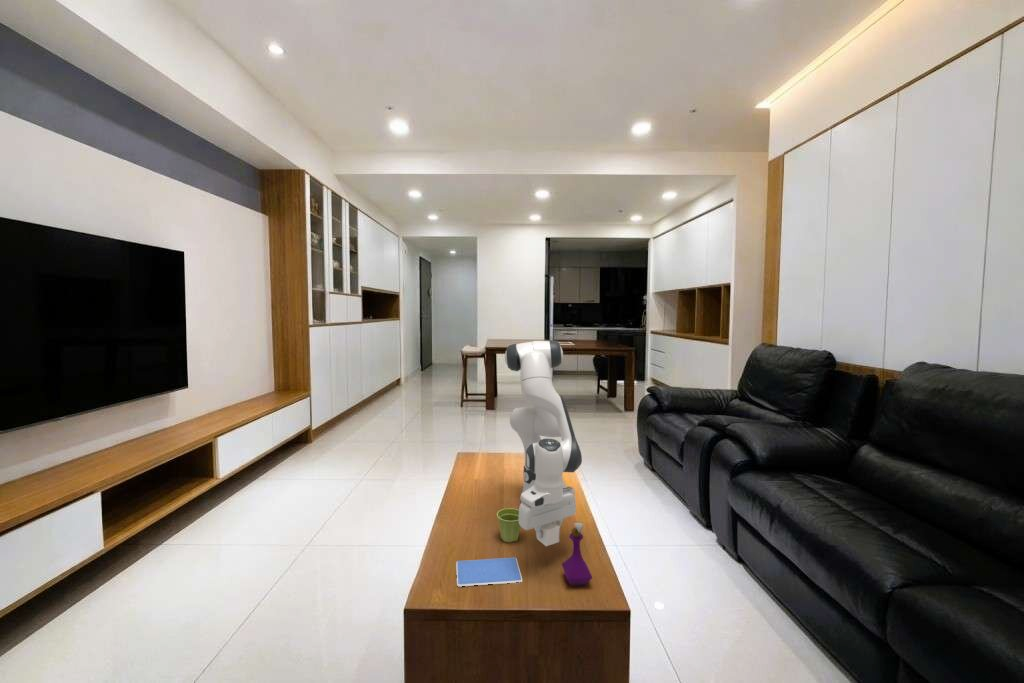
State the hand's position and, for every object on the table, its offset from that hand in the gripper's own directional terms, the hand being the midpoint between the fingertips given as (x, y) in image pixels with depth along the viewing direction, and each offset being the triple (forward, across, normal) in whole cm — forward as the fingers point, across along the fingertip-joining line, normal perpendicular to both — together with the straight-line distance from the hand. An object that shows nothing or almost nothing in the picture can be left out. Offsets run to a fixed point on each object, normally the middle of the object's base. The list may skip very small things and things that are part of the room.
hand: (547, 534), depth 135 cm
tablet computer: (+10, +18, -5) cm, 22 cm away
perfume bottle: (+10, -2, +12) cm, 15 cm away
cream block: (+2, 0, 0) cm, 2 cm away
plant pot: (+10, +2, -19) cm, 21 cm away
